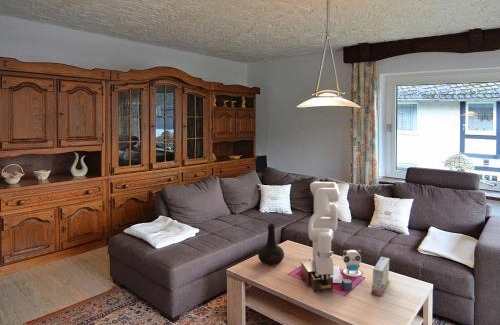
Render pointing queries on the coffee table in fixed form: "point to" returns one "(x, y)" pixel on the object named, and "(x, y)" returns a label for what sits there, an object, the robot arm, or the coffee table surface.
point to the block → (346, 284)
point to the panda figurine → (352, 262)
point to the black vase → (271, 249)
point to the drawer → (317, 285)
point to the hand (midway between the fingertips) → (324, 285)
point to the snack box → (380, 276)
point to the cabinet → (307, 271)
